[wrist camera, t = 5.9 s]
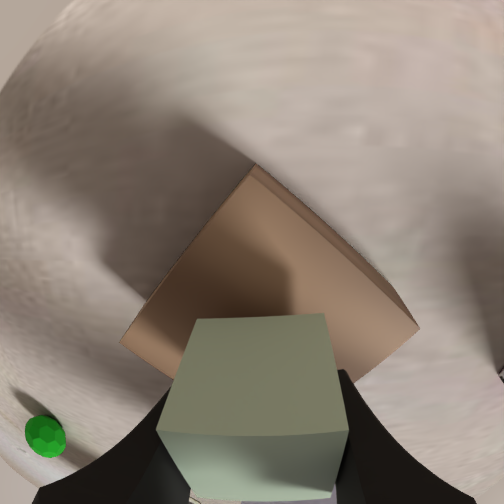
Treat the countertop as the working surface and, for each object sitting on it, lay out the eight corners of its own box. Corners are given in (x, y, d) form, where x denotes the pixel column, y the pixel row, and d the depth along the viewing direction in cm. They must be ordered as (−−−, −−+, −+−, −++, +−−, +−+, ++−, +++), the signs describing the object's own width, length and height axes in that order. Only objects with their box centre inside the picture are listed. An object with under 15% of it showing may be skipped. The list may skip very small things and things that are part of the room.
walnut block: (275, 387, 19) (273, 434, 15) (146, 301, 17) (119, 342, 14) (393, 287, 16) (420, 328, 12) (256, 163, 14) (249, 174, 10)
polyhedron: (64, 416, 24) (45, 448, 20) (77, 440, 26) (62, 470, 21) (30, 401, 24) (11, 429, 20) (45, 426, 26) (29, 453, 22)
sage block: (319, 397, 12) (330, 497, 7) (216, 400, 13) (197, 497, 8) (323, 312, 10) (348, 429, 6) (197, 318, 11) (155, 429, 6)
